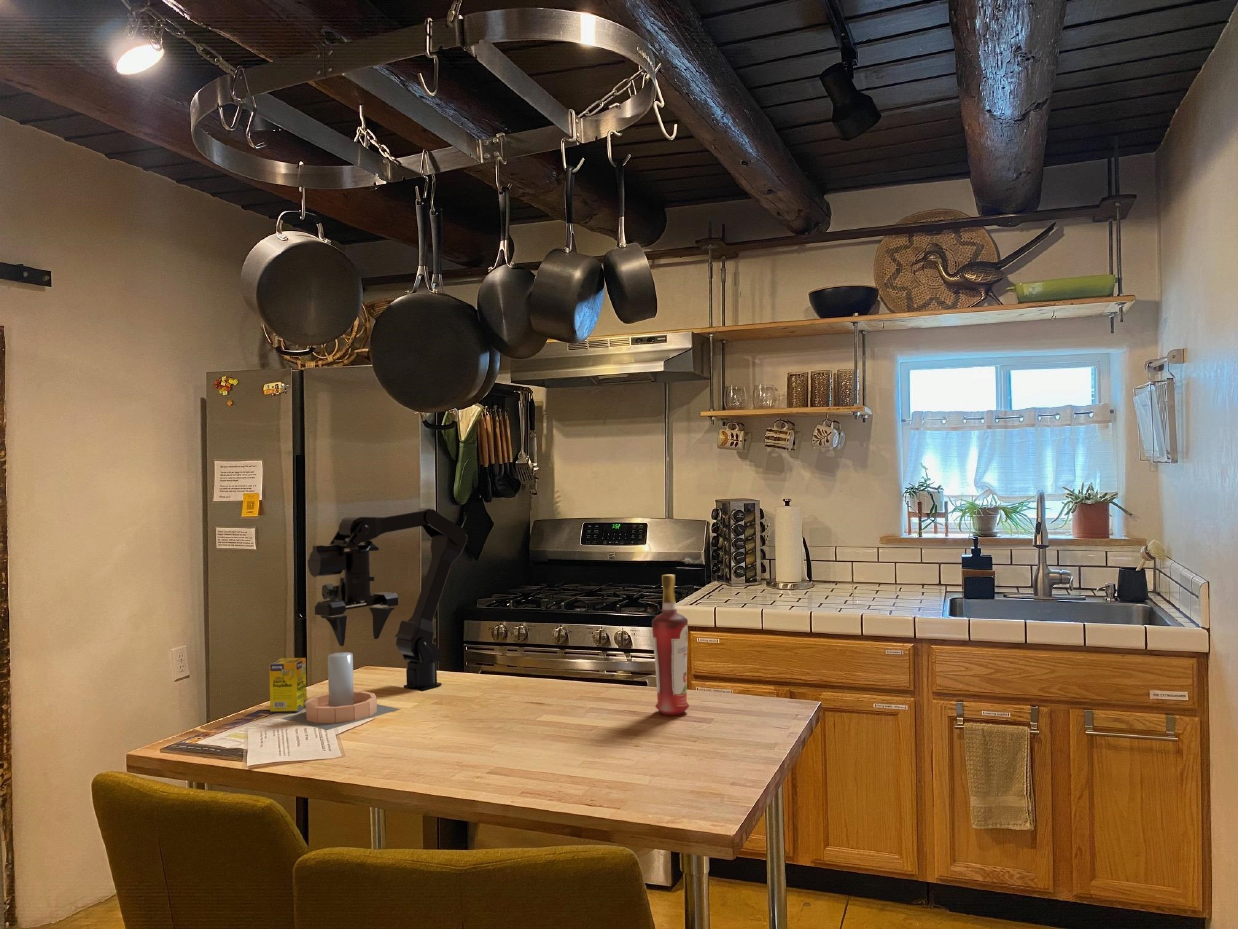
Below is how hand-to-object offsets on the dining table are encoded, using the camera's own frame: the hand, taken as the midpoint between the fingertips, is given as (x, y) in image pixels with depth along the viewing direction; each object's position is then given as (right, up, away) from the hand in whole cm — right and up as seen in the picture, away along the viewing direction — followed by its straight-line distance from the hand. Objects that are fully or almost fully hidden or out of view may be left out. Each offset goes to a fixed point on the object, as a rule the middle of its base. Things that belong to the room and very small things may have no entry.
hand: (359, 642), depth 203 cm
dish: (0, -13, -12) cm, 18 cm away
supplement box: (-13, -14, -7) cm, 20 cm away
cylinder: (0, -12, -12) cm, 17 cm away
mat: (0, -13, -12) cm, 18 cm away
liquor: (+69, -11, -18) cm, 72 cm away
